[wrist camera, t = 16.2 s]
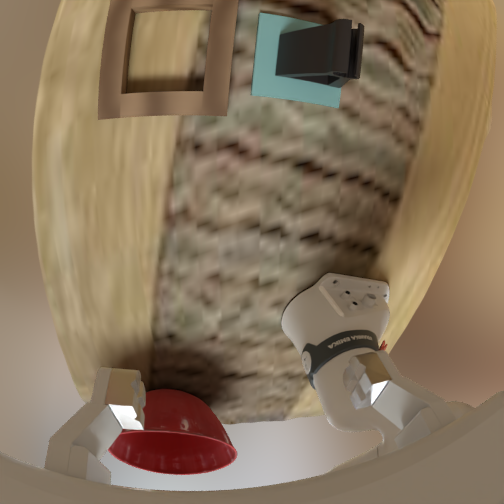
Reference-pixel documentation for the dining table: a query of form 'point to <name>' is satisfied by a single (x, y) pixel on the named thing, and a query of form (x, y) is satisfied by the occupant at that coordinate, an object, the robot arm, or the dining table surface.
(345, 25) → the dark gray a-frame stand
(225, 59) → the walnut holder
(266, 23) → the teal mat
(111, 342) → the dining table surface
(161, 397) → the mixing bowl
